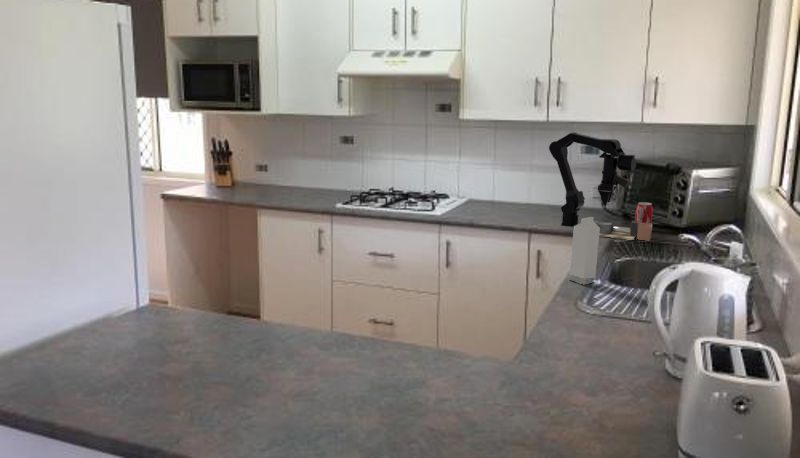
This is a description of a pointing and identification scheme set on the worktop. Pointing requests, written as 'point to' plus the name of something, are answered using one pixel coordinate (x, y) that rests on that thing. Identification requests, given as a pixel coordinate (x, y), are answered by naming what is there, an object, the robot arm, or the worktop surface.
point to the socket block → (644, 231)
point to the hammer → (627, 229)
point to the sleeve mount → (606, 232)
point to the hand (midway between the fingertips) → (606, 204)
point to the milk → (585, 249)
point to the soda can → (644, 212)
